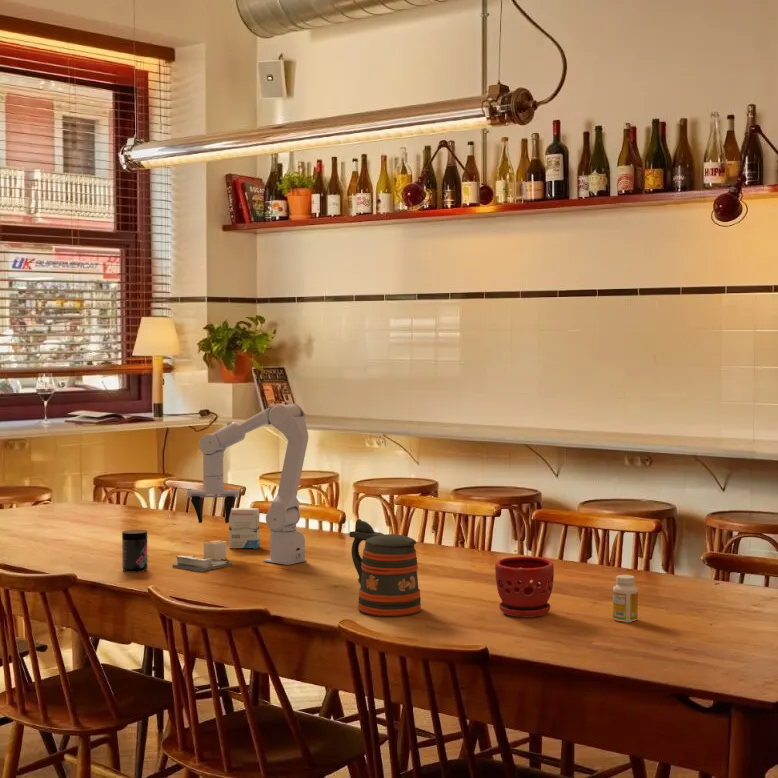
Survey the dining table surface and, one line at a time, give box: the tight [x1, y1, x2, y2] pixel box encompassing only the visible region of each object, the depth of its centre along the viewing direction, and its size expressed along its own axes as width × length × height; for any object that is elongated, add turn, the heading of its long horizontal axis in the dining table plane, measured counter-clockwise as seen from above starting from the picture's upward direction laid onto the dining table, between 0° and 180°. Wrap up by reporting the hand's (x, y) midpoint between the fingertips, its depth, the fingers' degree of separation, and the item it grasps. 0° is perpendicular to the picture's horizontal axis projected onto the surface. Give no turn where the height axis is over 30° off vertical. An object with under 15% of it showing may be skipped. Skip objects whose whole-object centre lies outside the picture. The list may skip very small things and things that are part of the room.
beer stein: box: [348, 518, 422, 618], centre depth 271 cm, size 19×15×20 cm
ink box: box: [228, 507, 261, 550], centre depth 352 cm, size 9×5×12 cm, turn 84°
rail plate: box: [172, 555, 234, 573], centre depth 322 cm, size 11×12×3 cm
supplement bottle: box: [612, 574, 639, 621], centre depth 261 cm, size 5×5×10 cm
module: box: [203, 539, 228, 561], centre depth 333 cm, size 4×5×5 cm
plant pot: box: [494, 556, 555, 618], centre depth 266 cm, size 13×13×12 cm
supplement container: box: [121, 529, 149, 572], centre depth 317 cm, size 7×7×10 cm
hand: (213, 522), depth 338 cm, fingers open, 7 cm apart
